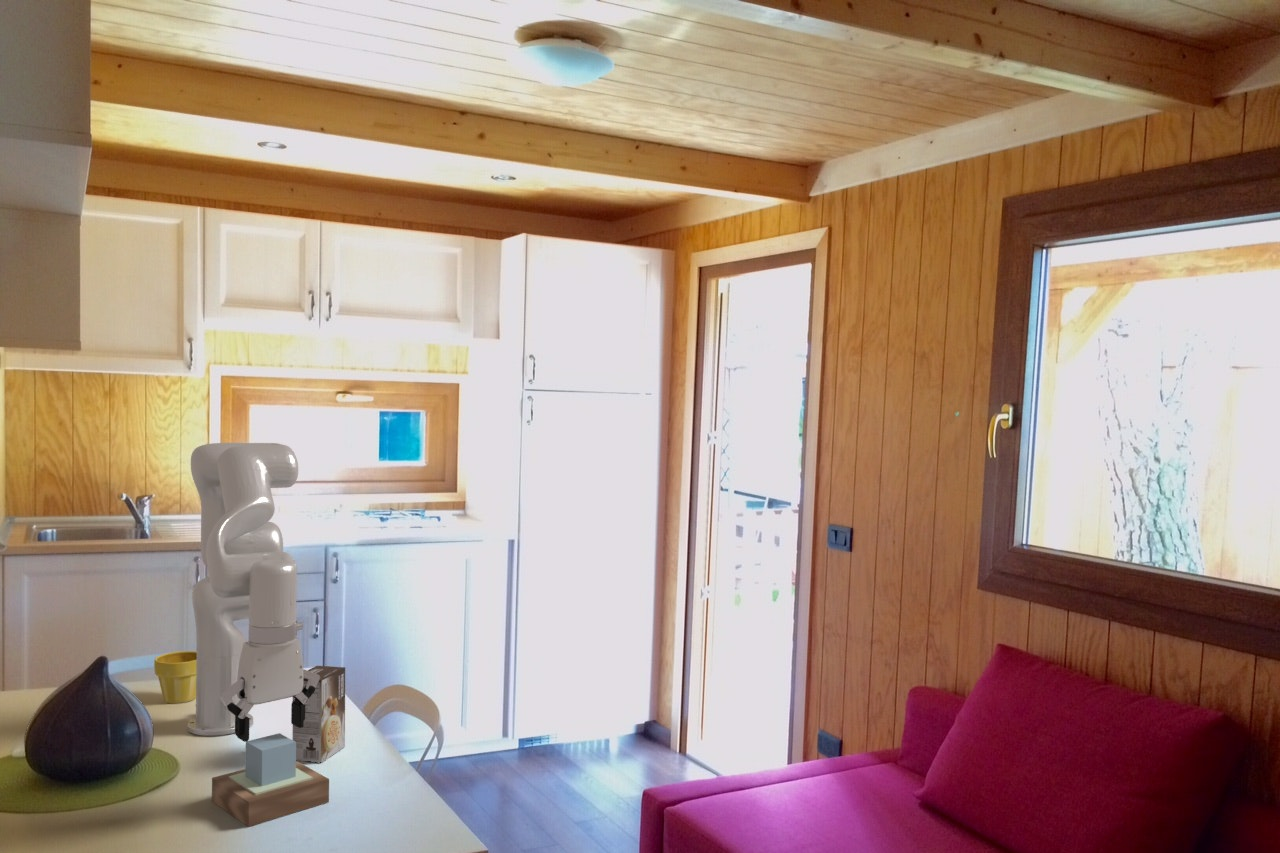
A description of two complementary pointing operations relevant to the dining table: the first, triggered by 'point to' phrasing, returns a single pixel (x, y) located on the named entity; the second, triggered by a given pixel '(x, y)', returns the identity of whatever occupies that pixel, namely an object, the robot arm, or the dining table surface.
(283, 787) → the plinth
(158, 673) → the plant pot
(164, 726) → the dining table surface
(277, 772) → the cube
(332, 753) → the coffee box
